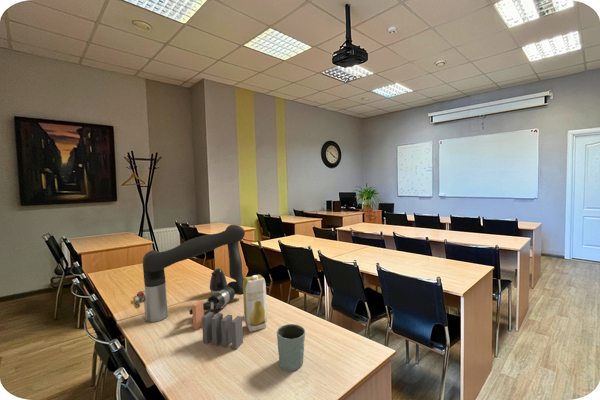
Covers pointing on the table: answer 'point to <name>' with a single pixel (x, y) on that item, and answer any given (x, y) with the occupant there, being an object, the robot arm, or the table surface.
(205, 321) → the domino
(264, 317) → the juice carton
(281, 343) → the grey green cup
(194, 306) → the domino
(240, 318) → the domino
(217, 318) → the domino
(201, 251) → the robot arm
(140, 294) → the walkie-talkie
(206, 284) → the table surface
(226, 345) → the domino
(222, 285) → the black rounded cone
